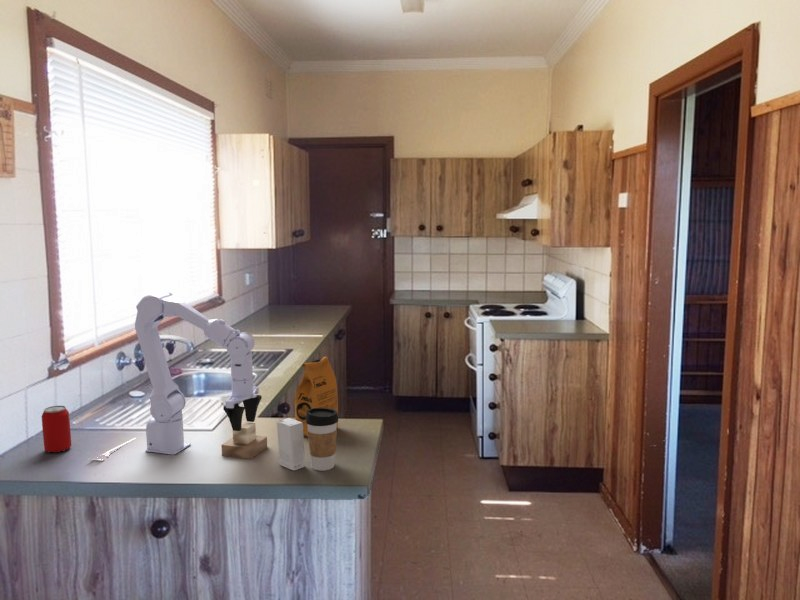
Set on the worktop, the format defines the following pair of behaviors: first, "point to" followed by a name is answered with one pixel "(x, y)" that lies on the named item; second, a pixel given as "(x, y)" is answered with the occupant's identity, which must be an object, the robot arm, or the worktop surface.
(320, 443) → the coffee cup
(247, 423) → the birch block
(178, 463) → the worktop surface
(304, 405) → the coffee package
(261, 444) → the walnut base
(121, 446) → the fork
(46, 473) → the worktop surface
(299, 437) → the skincare box
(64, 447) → the beverage can
